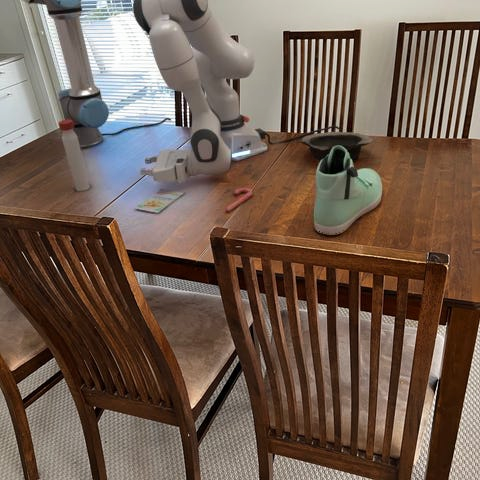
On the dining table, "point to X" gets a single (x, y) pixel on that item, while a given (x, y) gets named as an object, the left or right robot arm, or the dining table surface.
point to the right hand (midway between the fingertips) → (143, 166)
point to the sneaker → (343, 192)
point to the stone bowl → (336, 143)
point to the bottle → (75, 160)
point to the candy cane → (236, 192)
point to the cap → (66, 125)
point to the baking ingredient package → (159, 200)
